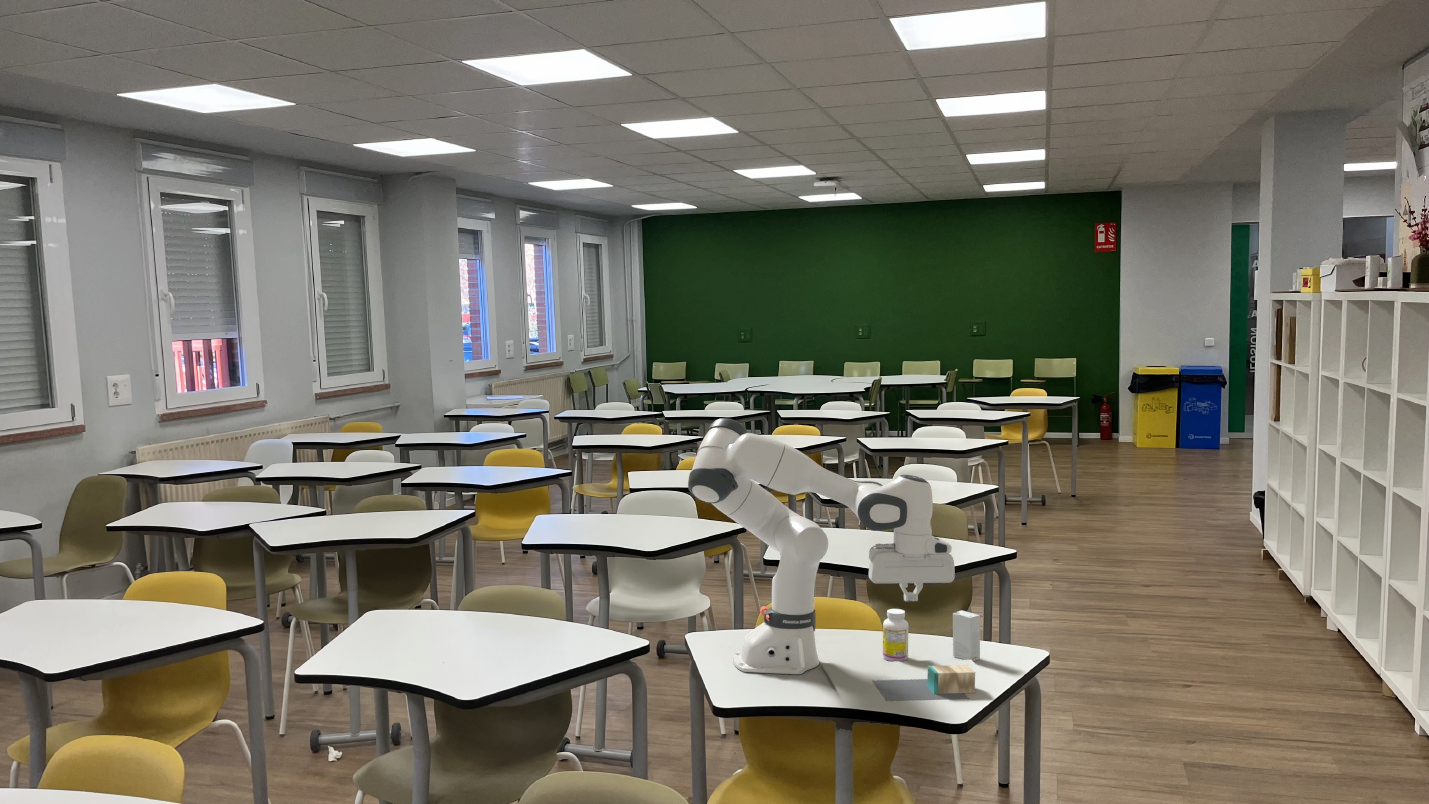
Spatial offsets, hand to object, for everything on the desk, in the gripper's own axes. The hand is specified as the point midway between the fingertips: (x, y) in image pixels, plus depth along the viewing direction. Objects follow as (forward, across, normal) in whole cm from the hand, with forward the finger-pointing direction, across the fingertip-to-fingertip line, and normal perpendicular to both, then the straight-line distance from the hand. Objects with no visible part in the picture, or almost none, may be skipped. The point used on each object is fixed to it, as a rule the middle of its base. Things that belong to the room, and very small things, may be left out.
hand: (910, 600), depth 230 cm
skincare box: (+23, +23, +24) cm, 40 cm away
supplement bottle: (+23, +4, +25) cm, 34 cm away
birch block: (+19, +6, 0) cm, 20 cm away
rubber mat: (+23, +3, 0) cm, 23 cm away
